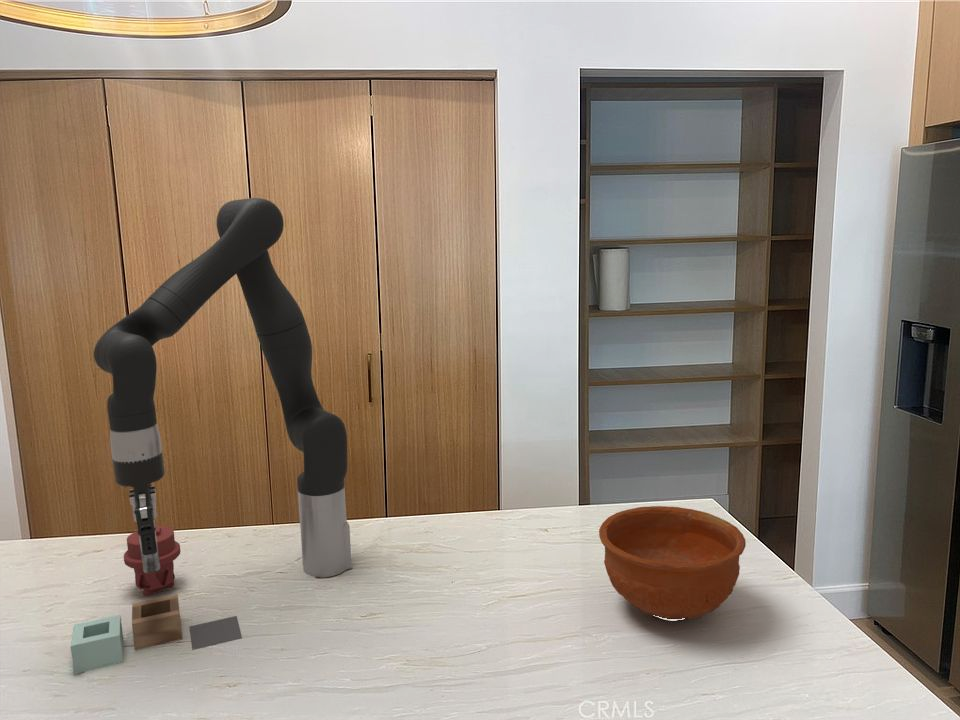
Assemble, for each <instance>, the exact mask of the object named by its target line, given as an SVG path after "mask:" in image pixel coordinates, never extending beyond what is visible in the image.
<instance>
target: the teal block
mask: <svg viewBox="0 0 960 720" xmlns="http://www.w3.org/2000/svg"><path fill="white" fill-rule="evenodd" d="M71 633H72V634H71V640H70V645H69V647H70V652H71V654H70V655H71V659H72V668H73V675H79V674H83V673H85V672H86V671H89V670H93V669H98V668H101V667H106V666H111V665H114V664H119V663H122V662H124V643H125V642H124V634H123V624H122V616H121V614H117V615H112V616H107V617H103V618H102V617H101V618H97V619H93V620H89V621H84V622H79V623H74V624H73V627H72V632H71Z"/></svg>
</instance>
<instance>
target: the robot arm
mask: <svg viewBox="0 0 960 720" xmlns="http://www.w3.org/2000/svg"><path fill="white" fill-rule="evenodd" d="M283 217H284V216H283V215H282V212H281V210H280V209H279V207H278V206H277V205H276V204H275V203H273V201H270V200H268V199H265V198H262V197H261V198H259V197H248V198H241V199H234V200H230V201H228V202H225V203H224V204H223V205H222V206H221V207H220V209H219V210H218V212H217V216H216V229H217V233H218V237H219V239H218V240H216V241H215V243H214V244H213V245H211V246H210V247H209V248H208V249H206V250H205V251H204V252H203V253H202V254H200V255H199V256H197V257H196V258H195V259H193V260H192V261H191V262H189V263H188V264H186V265H184V266H183V267H181V268H180V269H178V270H177V271H176V272H174V273H173V274H172V275H171V276H169V277H168V278H167V279H166V280H165V281H164V282H163V283H161V285H160V286H159V287H158V288H157V289H156V290H154V291H153V292H152V293H151V294H150V295H149V296H148V298H146V299H145V301H144V302H143V303H142V304H141V305H140V306H139V307H137V308H136V309H135V310H133V311H132V312H130V313H129V314H127V315H126V316H125V317H123V318H122V319H120V320H119V321H118V322H116V323H115V324H113V325H112V326H111V327H110V328H109V329H107V330H106V331H105V332H104V333H103V334H102V336H101V337H99V338H98V339H97V342H96V344H95V346H94V348H93V349H94V350H93V359H94V362H95V364H96V365H97V367H99V369H101V370H102V371H104V372H106V373H108V374H110V375H111V376H112V391H113V392H112V393H111V394H110V395H109V396H108V397H107V401H106V403H107V404H106V409H107V410H106V411H107V415H108V417H107V418H108V423H109V431H110V432H109V433H110V434H109V435H110V438H109V439H110V442H109V444H110V452H111V459H112V465H113V466H112V467H113V473H114V481H115V483H116V484H117V485H118V486H120V487H123V488H124V487H125V488H127V487H131V488H133V489H129V495H128V496H129V505H130V506H132V515H133V520H134V522H135V523H136V525H137V530H136V531H137V532H138V534H139V536H140V537H141V544H142V552H143V555H150V554H155V553H156V552H157V546H156V538H155V531H156V527H155V526H156V524H155V525H154V523H156V518H157V506H156V505H157V504H156V501H157V493H156V492H157V491H156V486H155V485H152V483H156V482H159V481H161V480H162V479H163V478H164V476H165V474H166V472H165V465H164V455H163V449H162V448H163V446H162V439H161V433H160V429H159V427H158V426H159V425H158V421H157V420H158V418H157V413H156V412H157V411H156V405H155V400H154V397H155V391H156V380H157V370H158V369H157V368H158V367H157V364H158V363H157V357H156V353H155V349H154V348H153V346H154V345H155V344H156V343H157V342H159V341H161V340H163V339H167V338H171V337H173V336H174V335H176V334H177V333H178V332H179V331H180V330H181V329H182V328H183V327H184V325H186V324H187V323H188V322H189V321H190V320H191V318H193V317H194V315H195V314H196V313H197V312H198V311H199V310H200V309H201V308H202V307H203V306H204V305H205V304H206V303H207V302H208V301H209V300H210V299H211V297H213V295H215V294H216V293H217V292H218V291H219V290H220V289H221V288H222V287H223V286H224V285H225V284H226V283H227V282H228V281H230V280H231V279H232V278H233V277H234V276H237V280H238V281H239V284H240V287H241V290H242V294H243V297H244V300H245V302H246V306H247V308H248V311H249V313H250V314H249V315H250V318H251V320H252V324H253V326H254V327H253V328H254V331H255V333H256V336H257V337H256V338H257V339H258V343H259V345H260V347H261V351H262V353H263V356H264V358H265V359H264V360H265V361H266V364H267V367H268V369H269V373H270V375H271V377H272V380H273V384H274V386H275V388H276V390H277V393H278V397H279V401H280V405H281V410H282V414H283V419H284V423H285V429H286V432H287V435H288V438H289V440H290V442H291V443H292V445H293V446H294V447H295V448H296V449H297V450H298V451H300V452H302V453H303V472H300V474H299V475H298V476H297V478H296V484H297V485H296V486H297V498H298V500H297V501H298V512H299V527H300V528H299V529H300V541H301V554H302V555H301V556H302V557H301V558H302V569H303V572H304V573H305V574H306V575H308V576H309V577H315V578H330V577H335V576H337V575H340V574H341V573H344V572H345V571H347V570H351V569H352V567H353V566H352V565H353V563H352V549H351V546H352V545H351V533H350V532H351V531H350V524H349V522H348V521H347V506H346V490H345V478H346V475H347V472H348V435H347V428H346V426H345V424H344V422H343V420H342V419H341V418H340V417H339V416H338V415H336V414H334V413H331V412H329V411H327V410H325V409H324V408H323V406H322V404H321V402H320V399H319V396H318V393H317V392H316V391H317V390H316V389H315V385H314V383H313V378H312V377H313V376H312V365H313V364H312V363H313V345H312V339H311V336H310V333H309V329H308V327H307V323H306V320H305V317H304V315H303V312H302V310H301V307H300V306H299V304H298V302H297V301H296V299H295V298H294V296H293V295H292V293H290V291H289V290H288V289H287V287H286V286H285V285H284V283H283V282H282V280H281V278H280V277H279V276H278V274H277V272H276V270H275V268H274V265H273V263H272V259H271V257H270V252H269V251H268V250H269V249H270V248H271V247H273V246H274V245H275V244H277V242H278V241H279V239H280V238H281V237H282V235H283V234H282V233H283V231H284V224H285V223H284V218H283ZM145 525H151V526H147V527H142V526H145Z"/></svg>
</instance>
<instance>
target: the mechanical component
mask: <svg viewBox="0 0 960 720" xmlns="http://www.w3.org/2000/svg"><path fill="white" fill-rule="evenodd" d="M155 527H156V539H157V546H158V554H159V562H160V569H159V570H158V571H156V572H153V573H145V572H144V570H143V562H142V555H141V548H140V540H139V534H138V532H137V531H138V530H136V531H134V532H132V533H130V534H129V535H128V536H127V538H126V546H127V550H126V551H125V552H124V553H123V563H124V565H125V566H127V567H128V568H130V569H133V571H134V578H135V579H134V581H135V586H136V587H135V588H137V589H139V590H142V594H143V596H144V597H150V596H152V595H153V594H155V593H159V592H161V591H164V590H168V589H171V588H174V587H175V585H176V584H175V578H176V576H175V571H174V570H175V568H174V566H175V565H174V561H175V560H176V559H178V557H179V556H180V555H181V552H182V551H181V545H180V543H179V542H177V541H176V540H175V531H174V528H172V527H170V526H169V527H168V526H163V525H161V526H160V525H155Z"/></svg>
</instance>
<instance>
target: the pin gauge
mask: <svg viewBox="0 0 960 720" xmlns="http://www.w3.org/2000/svg"><path fill="white" fill-rule="evenodd" d="M155 523H156V522H155ZM155 523H154V525H155V526H156V524H155ZM147 526H151V525H145V526H142V527H147ZM155 538H156V531H155ZM139 540H140V548H141V555H142V562H143V570H144V572H145V573H153V572H156V571H158V570H159V569H160V562H159V554H158V546H157V539H156V546H157V552H156V553H155V554H150V555H143V552H142V544H141V537H140V536H139Z"/></svg>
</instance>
